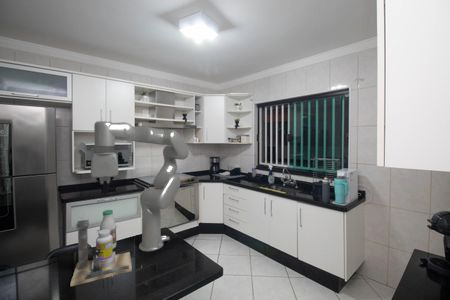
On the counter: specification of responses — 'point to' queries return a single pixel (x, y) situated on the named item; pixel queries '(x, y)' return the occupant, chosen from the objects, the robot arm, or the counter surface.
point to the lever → (96, 263)
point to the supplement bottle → (105, 245)
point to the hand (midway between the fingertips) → (105, 192)
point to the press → (109, 267)
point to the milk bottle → (109, 224)
